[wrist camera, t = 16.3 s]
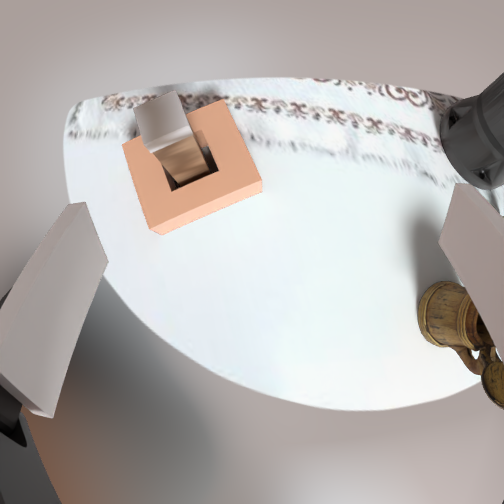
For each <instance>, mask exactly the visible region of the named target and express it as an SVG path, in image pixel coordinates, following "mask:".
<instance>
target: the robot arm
mask: <svg viewBox="0 0 504 504" xmlns="http://www.w3.org/2000/svg"><path fill="white" fill-rule="evenodd" d="M440 134H441V140H442V144H443V147H444V150H445V152H446V154H447V157H448V158H449V160H450V162H451V164H452V165H453V167H454V168H455V169H456V171H457V172H458V173H459V174H460V175H461V176H462V177H463V178H464V179H465V180H466V181H467V182H469V183H470V184H463V183H456V184H455V188H454V191H453V195H452V199H451V202H450V206H449V209H448V213H447V216H446V219H445V223H444V226H443V229H442V232H441V235H440V238H439V241H438V244H439V246H440V247H441V249H442V250H443V252H444V253H445V255H446V257H447V258H448V260H449V261H450V263H451V265H452V266H453V268H454V270H455V271H456V273H457V275H458V276H459V278H460V280H461V281H462V283H463V285H464V287H465V288H466V290H467V292H468V294H469V296H470V297H471V299H472V301H473V303H474V305H475V306H476V308H477V310H478V312H479V314H480V316H481V318H482V320H483V322H484V324H485V326H486V328H487V330H488V332H489V334H490V336H491V338H492V340H493V342H494V344H495V346H496V348H497V351H498V353H499V355H500V357H501V360H502V362H503V364H504V218H503V217H502V216H501V215H500V214H499V213H498V212H497V211H496V210H495V208H494V207H493V206H492V205H491V204H490V203H489V202H488V201H487V200H486V199H485V198H484V197H483V196H482V195H481V194H480V193H479V192H478V191H477V190H476V189H475V188H474V187H473V186H475V187H477V188H480V189H483V190H492V189H495V188H498V187H500V186H502V185H504V73H502V74H501V75H500V76H499V77H498V78H497V79H496V80H495V81H494V82H493V83H492V84H491V85H489V86H488V87H487V88H486V89H485V90H484V91H483V92H482V93H481V94H480V95H477V96H473V97H470V98H466V99H463V100H459V101H457V102H455V103H454V104H452V105H451V106H450V107H449V108H448V109H447V110H446V111H445V113H444V114H443V116H442V119H441V124H440ZM471 184H472V185H473V186H472V185H471ZM108 262H109V261H108V259H107V256H106V254H105V252H104V249H103V247H102V244H101V242H100V239H99V237H98V234H97V232H96V229H95V226H94V224H93V221H92V219H91V216H90V213H89V210H88V208H87V205H86V202H81V203H74V204H68V205H67V207H66V208H65V209H64V211H63V212H62V213H61V215H60V216H59V218H58V219H57V220H56V222H55V223H54V224H53V226H52V227H51V229H50V230H49V232H48V233H47V235H46V236H45V237H44V239H43V240H42V242H41V243H40V245H39V246H38V248H37V249H36V251H35V252H34V254H33V255H32V257H31V258H30V260H29V261H28V263H27V264H26V266H25V268H24V269H23V271H22V272H21V274H20V276H19V277H18V279H17V281H16V282H15V284H14V286H13V287H12V288H11V289H10V290H9V291H8V293H7V294H6V295H5V296H4V297H3V298H2V299H1V301H0V504H62V503H61V501H60V500H59V498H58V496H57V494H56V491H55V489H54V487H53V485H52V484H51V481H50V479H49V477H48V475H47V472H46V470H45V468H44V465H43V463H42V461H41V458H40V456H39V453H38V451H37V448H36V446H35V443H34V440H33V438H32V435H31V432H30V429H29V426H28V423H27V420H26V418H25V416H24V415H23V413H21V412H20V410H21V407H22V405H24V406H25V407H26V408H27V409H28V410H30V411H31V412H32V413H34V414H37V415H41V416H45V417H49V418H53V416H54V412H55V408H56V404H57V401H58V397H59V394H60V391H61V387H62V384H63V381H64V378H65V375H66V371H67V368H68V365H69V362H70V359H71V356H72V353H73V350H74V348H75V345H76V342H77V339H78V336H79V333H80V331H81V328H82V325H83V323H84V320H85V317H86V315H87V312H88V309H89V307H90V305H91V301H92V300H93V297H94V295H95V292H96V290H97V287H98V285H99V283H100V280H101V278H102V276H103V273H104V271H105V269H106V266H107V264H108ZM502 504H504V501H503V503H502Z"/></svg>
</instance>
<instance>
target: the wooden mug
mask: <svg viewBox="0 0 504 504" xmlns="http://www.w3.org/2000/svg"><path fill="white" fill-rule="evenodd" d="M418 322H419V327H420V330H421V333H422V335H423V336H424V337H425V339H426V340H427V341H428V342H430V343H432V344H433V345H436V346H438V347H451V348H452V349H454V350H455V351H456V352H457V354H458V355H459V356H460V358H461V359H462V361H463V362H464V364H465V365H466V367H467V368H468V369H469V370H470V371H471V372H473V373H474V374H477V375H481V380H482V385H483V388H484V390H485V393H486V394H487V396H488V397H489V399H490V400H491V401H492V402H493V403H494V404H496V405H497V406H498V407H499V408H501V409H503V410H504V364H503V362H502V361H501V360H500V358H499V357H498V355H497V353H496V346H495V344H494V342H493V340H492V338H491V336H490V334H489V332H488V330H487V328H486V326H485V324H484V322H483V320H482V318H481V316H480V314H479V312H478V310H477V308H476V306H475V305H474V303H473V301H472V299H471V297H470V296H469V294H468V292H467V290H466V288H465V287H462V286H461V285H459V284H457V283H453V282H449V281H441V282H438V283H435V284H434V285H432V286H431V287H430V288H428V290H427V291H426V292H425V293H424V295H423V297H422V299H421V301H420V304H419V308H418ZM471 349H472V350H473V351H479V350H480V351H479V356H478V359H474V357H473V355H472V351H471Z"/></svg>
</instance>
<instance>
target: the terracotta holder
mask: <svg viewBox="0 0 504 504" xmlns="http://www.w3.org/2000/svg"><path fill="white" fill-rule="evenodd" d="M186 117H187V119H188V121H189V123H190V125H191V127H192V130H193V132H194V134H195V136H196V138H197V141H198V143H199V145H200V147H201V148H203V147H206V146H208V147H209V149H210V152H211V154H212V156H213V159H214V161H215V163H216V166H217V168H218V170H219V171H217V172H215V173H213V174H210V175H208V176H206V177H203V178H201V179H199V180H197V181H194V182H192V183H190V184H188V185H185V186H183V187H181V188H179V189H177V188H176V186H175V183H174V180H173V178H172V176H171V174H170V173H169V172H168V171H167V170H166V168H165V167H164V166H163V165H162V164H161V162H160V161H159V160H158V159H157V158H156V157H155V155H154V154H153V153H150V152H149V150H148V149H147V148H146V147H145V146H144V144H143V141H142V138H141V135H140V136H138V137H136V138H134V139H132V140H130V141H128V142H126V143H124V144H122V147H123V150H124V153H125V157H126V160H127V163H128V167H129V170H130V173H131V176H132V180H133V183H134V186H135V189H136V192H137V195H138V198H139V201H140V204H141V207H142V210H143V213H144V216H145V219H146V222H147V224H148V227H149V229H150V230H152V231H154V232H156V233H158V234H160V235H164V234H166V233H168V232H170V231H173V230H175V229H177V228H179V227H182V226H184V225H186V224H188V223H190V222H193V221H195V220H197V219H200V218H202V217H204V216H206V215H209V214H211V213H213V212H216V211H218V210H220V209H223V208H225V207H227V206H230V205H232V204H234V203H237V202H239V201H241V200H244V199H246V198H248V197H251V196H253V195H256V194H258V193H261V192H262V179H261V177H260V175H259V173H258V170H257V168H256V166H255V164H254V162H253V160H252V158H251V155H250V153H249V151H248V149H247V147H246V145H245V143H244V141H243V139H242V136H241V134H240V132H239V130H238V128H237V126H236V124H235V122H234V120H233V118H232V116H231V114H230V112H229V110H228V108H227V105H226V103H225V101H224V99H222V100H219V101H217V102H214V103H212V104H209V105H207V106H204V107H202V108H199V109H197V110H194V111H192V112H190V113H187V114H186Z"/></svg>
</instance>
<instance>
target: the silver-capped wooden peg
mask: <svg viewBox="0 0 504 504" xmlns="http://www.w3.org/2000/svg"><path fill="white" fill-rule="evenodd" d="M133 110H134V113H135V117H136V120H137V124H138V127H139V131H140V134H141V138H142V141H143V144H144V146H145V147H146V148H147V149H148V150H149V152H150V153H153V154H154V155H155V157H156V158H157V159H158V160H159V161H160V162H161V164H162V165H163V166H164V167H165V168H166V170H167V171H168V172H169V173H170V174H171V176H172V177H173V178H174V179H175V180H176V181H177V183H178V184H179V185H180V186H181V187H183V186H185V185H188V184H190V183H192V182H194V181H197V180H199V179H201V178H203V177H206V176H208V175H210V174H211V171H210V169H209V166H208V164H207V161H206V159H205V156H204V154H203V151H202V149H201V147H200V145H199V143H198V141H197V138H196V136H195V134H194V132H193V130H192V127H191V125H190V123H189V121H188V119H187V117H186V114H185V111H184V109H183V106H182V103H181V101H180V98H179V96H178V94H177V92H176V90H173V91H171V92H169V93H166V94H164V95H162V96H159V97H157V98H155V99H153V100H150V101H148V102H146V103H144V104H142V105H139V106H137V107H135V108H133Z"/></svg>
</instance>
